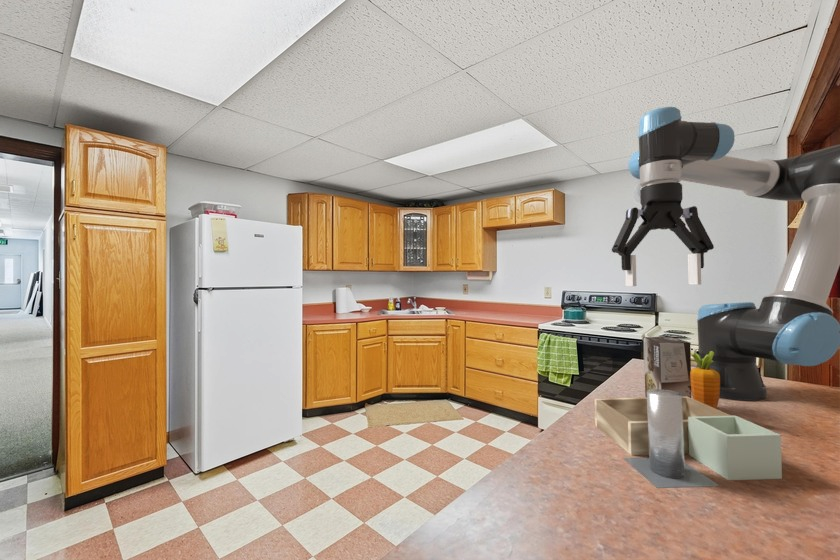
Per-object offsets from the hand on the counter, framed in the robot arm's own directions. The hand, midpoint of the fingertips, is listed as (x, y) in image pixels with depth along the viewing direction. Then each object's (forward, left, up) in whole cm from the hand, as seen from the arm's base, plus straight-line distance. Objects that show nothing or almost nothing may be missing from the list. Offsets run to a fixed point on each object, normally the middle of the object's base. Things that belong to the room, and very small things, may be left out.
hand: (662, 285), depth 80 cm
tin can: (+14, +22, -28) cm, 38 cm away
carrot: (-7, +2, -29) cm, 30 cm away
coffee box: (-5, -7, -29) cm, 30 cm away
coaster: (+14, +22, -29) cm, 38 cm away
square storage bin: (+3, +21, -29) cm, 35 cm away
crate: (+7, +10, -29) cm, 31 cm away
